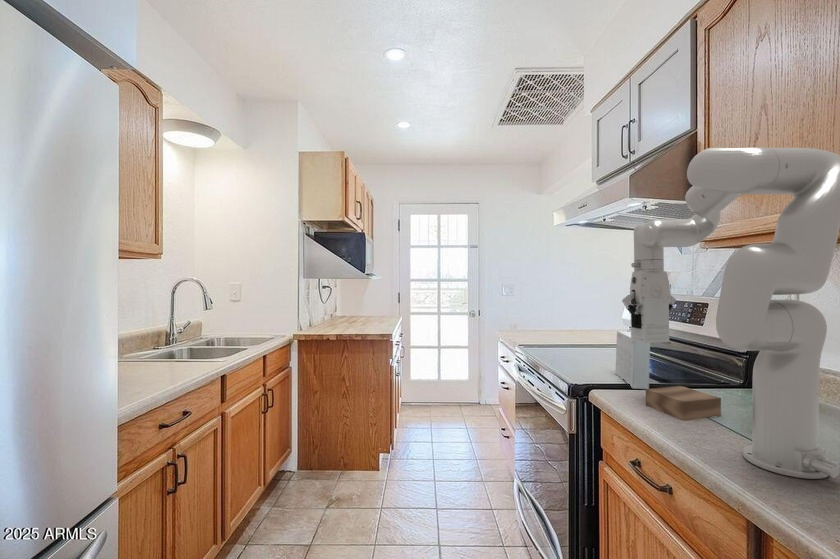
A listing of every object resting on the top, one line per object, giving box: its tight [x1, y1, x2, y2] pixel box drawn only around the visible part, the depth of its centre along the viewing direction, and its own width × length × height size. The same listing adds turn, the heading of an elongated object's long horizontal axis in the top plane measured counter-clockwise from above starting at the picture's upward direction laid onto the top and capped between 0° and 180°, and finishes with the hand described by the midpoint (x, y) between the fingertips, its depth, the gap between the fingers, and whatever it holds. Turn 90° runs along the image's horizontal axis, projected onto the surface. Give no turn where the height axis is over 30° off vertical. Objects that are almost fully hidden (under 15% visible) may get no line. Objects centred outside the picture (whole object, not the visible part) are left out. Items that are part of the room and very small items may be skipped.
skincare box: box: [614, 330, 651, 390], centre depth 141 cm, size 21×6×16 cm, turn 168°
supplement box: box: [630, 298, 670, 344], centre depth 119 cm, size 7×7×13 cm
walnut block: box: [645, 385, 722, 421], centre depth 110 cm, size 12×12×5 cm
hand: (649, 327), depth 119 cm, fingers closed on supplement box, 7 cm apart
